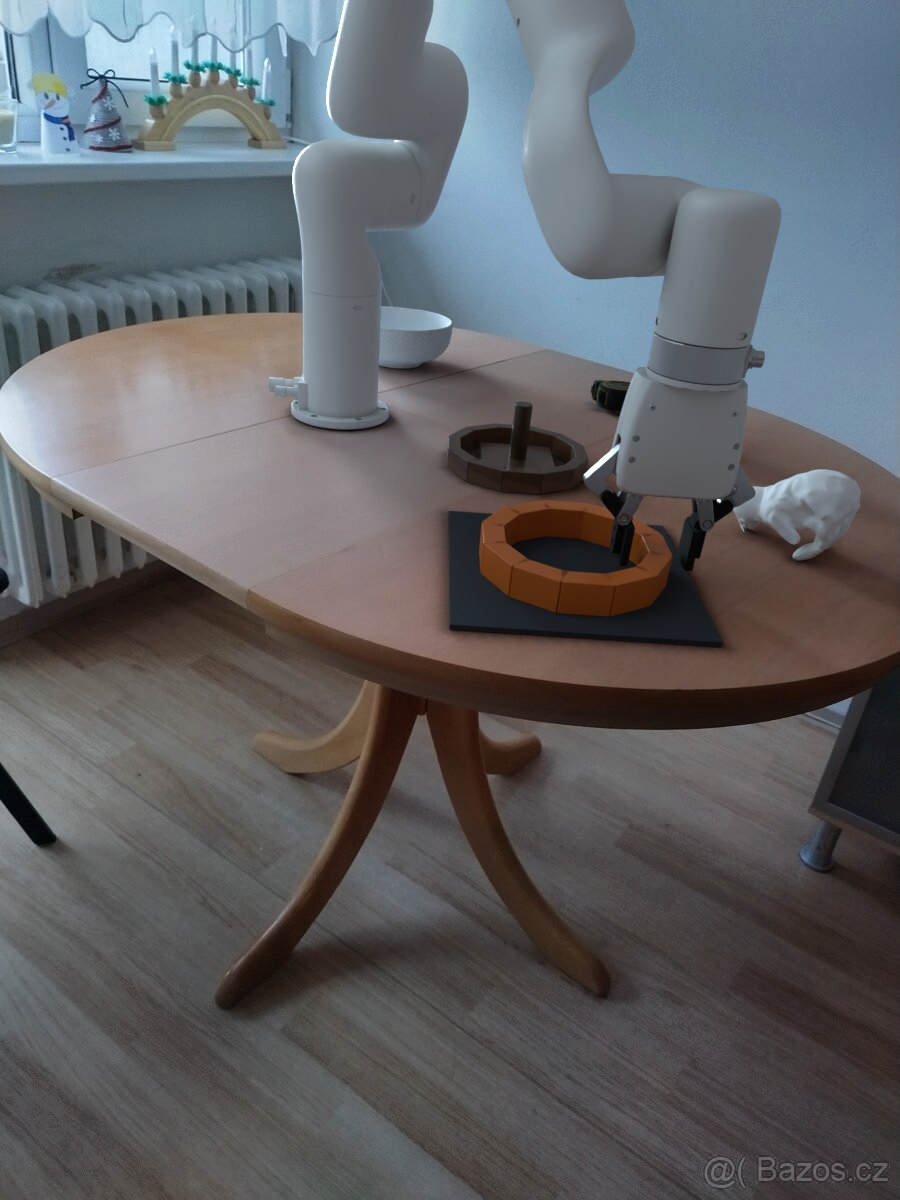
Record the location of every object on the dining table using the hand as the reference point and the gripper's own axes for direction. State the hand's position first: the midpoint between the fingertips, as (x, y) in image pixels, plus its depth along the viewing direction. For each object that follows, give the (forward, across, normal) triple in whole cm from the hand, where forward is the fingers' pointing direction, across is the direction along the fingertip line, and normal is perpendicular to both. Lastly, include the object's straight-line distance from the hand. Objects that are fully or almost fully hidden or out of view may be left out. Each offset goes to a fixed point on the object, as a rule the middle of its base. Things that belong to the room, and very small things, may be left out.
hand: (652, 560), depth 78 cm
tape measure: (+2, -6, -52) cm, 52 cm away
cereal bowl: (+2, +26, -68) cm, 73 cm away
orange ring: (+1, +7, 0) cm, 7 cm away
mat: (+2, +7, 0) cm, 8 cm away
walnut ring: (+2, +10, -26) cm, 28 cm away
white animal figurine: (+2, -16, -10) cm, 19 cm away
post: (+2, +10, -26) cm, 28 cm away
